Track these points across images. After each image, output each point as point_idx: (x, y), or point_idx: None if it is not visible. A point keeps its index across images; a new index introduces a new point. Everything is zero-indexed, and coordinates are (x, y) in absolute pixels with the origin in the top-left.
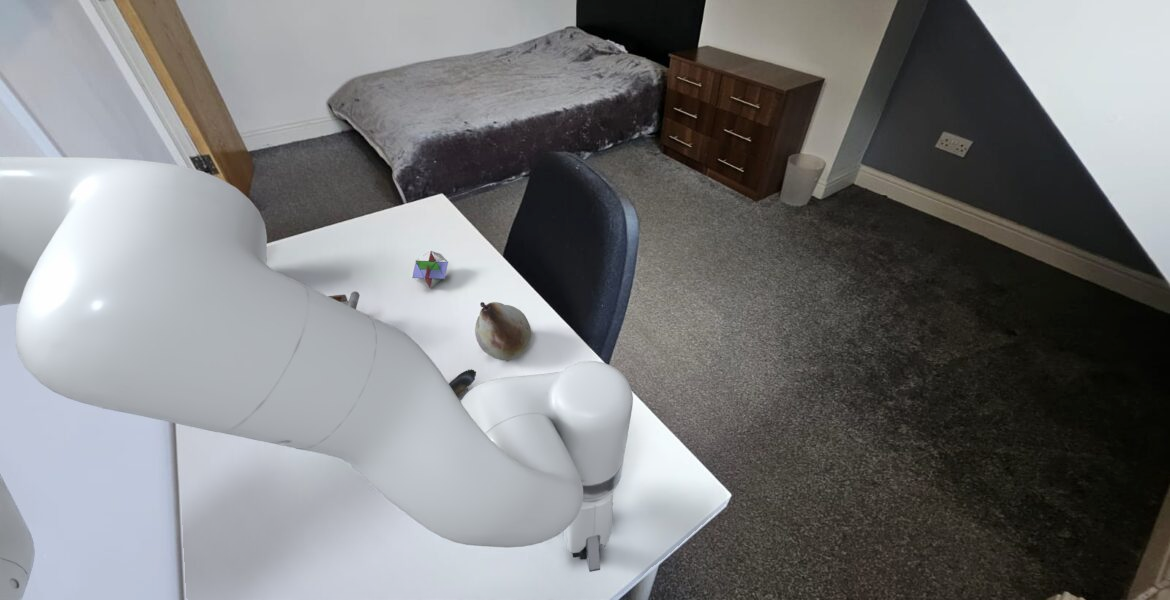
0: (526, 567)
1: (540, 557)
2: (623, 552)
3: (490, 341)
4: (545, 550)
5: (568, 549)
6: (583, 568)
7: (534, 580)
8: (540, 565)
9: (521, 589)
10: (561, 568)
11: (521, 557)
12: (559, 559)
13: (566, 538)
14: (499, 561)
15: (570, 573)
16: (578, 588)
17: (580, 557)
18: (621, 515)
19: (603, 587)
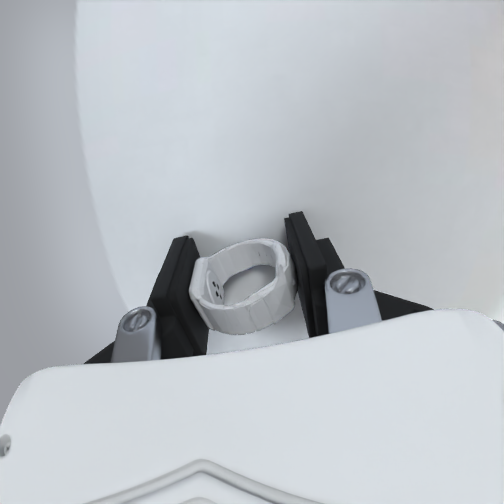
0: (135, 93)
1: (168, 131)
2: (212, 342)
3: None
4: (191, 144)
5: (11, 400)
6: (157, 260)
7: (103, 127)
8: (145, 136)
9: (79, 97)
10: (145, 202)
11: (164, 69)
12: (169, 193)
13: (11, 441)
14: (150, 8)
15: (138, 228)
16: (109, 250)
17: (157, 277)
18: (301, 339)
19: (128, 303)
